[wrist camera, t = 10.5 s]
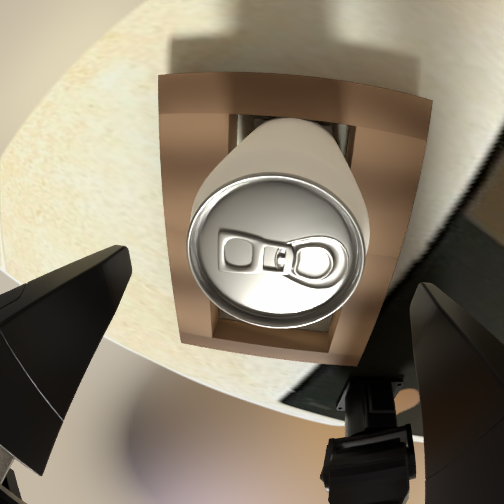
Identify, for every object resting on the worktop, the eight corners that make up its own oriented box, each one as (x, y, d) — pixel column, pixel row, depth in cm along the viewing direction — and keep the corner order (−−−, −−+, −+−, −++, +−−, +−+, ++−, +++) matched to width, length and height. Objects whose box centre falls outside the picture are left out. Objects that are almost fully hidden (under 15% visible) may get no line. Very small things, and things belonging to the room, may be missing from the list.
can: (333, 213, 21) (350, 346, 11) (240, 202, 22) (180, 321, 11) (347, 121, 18) (403, 177, 7) (245, 110, 18) (167, 149, 8)
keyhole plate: (355, 346, 27) (356, 366, 25) (189, 324, 29) (181, 342, 27) (418, 97, 16) (432, 100, 14) (174, 74, 18) (158, 74, 16)
